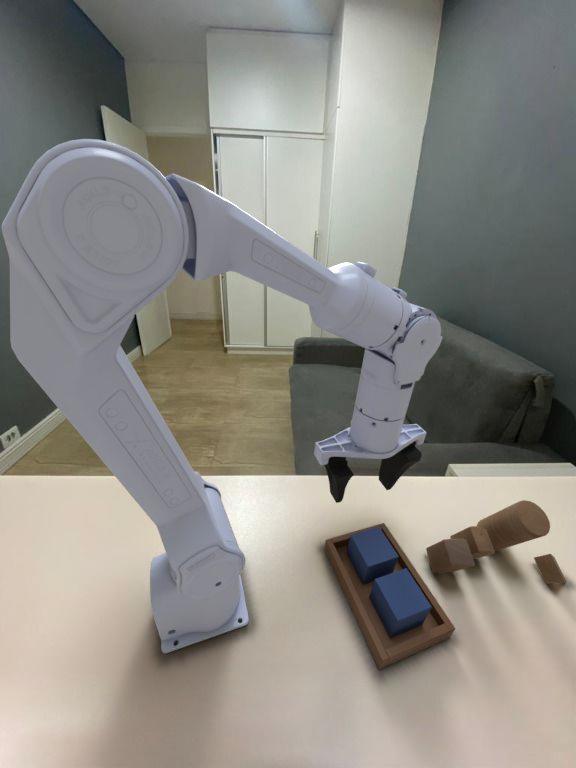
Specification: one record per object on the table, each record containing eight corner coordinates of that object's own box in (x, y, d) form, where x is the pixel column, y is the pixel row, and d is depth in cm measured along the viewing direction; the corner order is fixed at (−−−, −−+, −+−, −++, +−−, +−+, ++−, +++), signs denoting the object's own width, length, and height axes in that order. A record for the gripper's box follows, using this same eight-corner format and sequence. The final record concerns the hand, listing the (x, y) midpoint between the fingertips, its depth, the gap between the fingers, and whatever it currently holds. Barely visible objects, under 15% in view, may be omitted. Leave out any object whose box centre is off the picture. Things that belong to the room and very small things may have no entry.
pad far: (362, 585, 40) (368, 567, 38) (346, 552, 43) (350, 534, 41) (392, 574, 41) (399, 556, 39) (373, 544, 45) (379, 526, 43)
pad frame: (378, 669, 33) (382, 661, 32) (324, 548, 44) (325, 539, 43) (450, 637, 36) (455, 628, 35) (381, 531, 47) (383, 522, 46)
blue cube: (390, 638, 35) (397, 621, 33) (368, 597, 38) (374, 578, 36) (422, 624, 36) (432, 607, 34) (399, 585, 40) (406, 567, 38)
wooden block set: (431, 589, 42) (468, 582, 34) (413, 522, 48) (441, 502, 39) (557, 583, 43) (622, 575, 35) (525, 518, 48) (576, 497, 40)
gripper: (410, 383, 41) (388, 460, 47) (308, 397, 36) (300, 479, 43) (449, 412, 35) (419, 495, 42) (335, 433, 31) (321, 522, 37)
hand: (360, 490), depth 42 cm, fingers open, 7 cm apart
